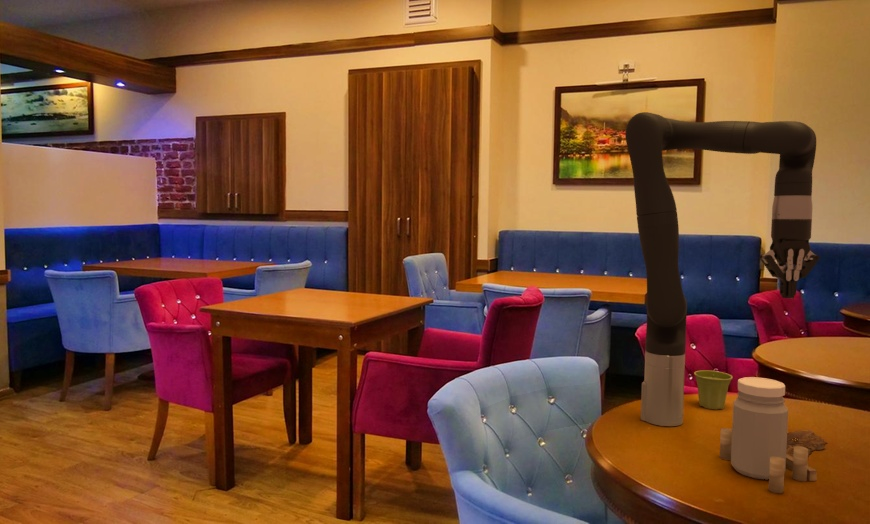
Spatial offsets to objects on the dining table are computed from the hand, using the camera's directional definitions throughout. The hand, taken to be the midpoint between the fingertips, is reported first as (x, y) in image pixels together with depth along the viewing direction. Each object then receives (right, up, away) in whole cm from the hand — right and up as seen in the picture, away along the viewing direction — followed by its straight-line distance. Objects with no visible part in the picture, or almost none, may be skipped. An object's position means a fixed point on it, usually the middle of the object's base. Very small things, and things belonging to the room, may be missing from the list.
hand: (787, 297), depth 137 cm
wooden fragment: (+4, -33, +5) cm, 34 cm away
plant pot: (-2, -31, +32) cm, 45 cm away
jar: (-12, -34, -11) cm, 38 cm away
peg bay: (-10, -34, -12) cm, 37 cm away
